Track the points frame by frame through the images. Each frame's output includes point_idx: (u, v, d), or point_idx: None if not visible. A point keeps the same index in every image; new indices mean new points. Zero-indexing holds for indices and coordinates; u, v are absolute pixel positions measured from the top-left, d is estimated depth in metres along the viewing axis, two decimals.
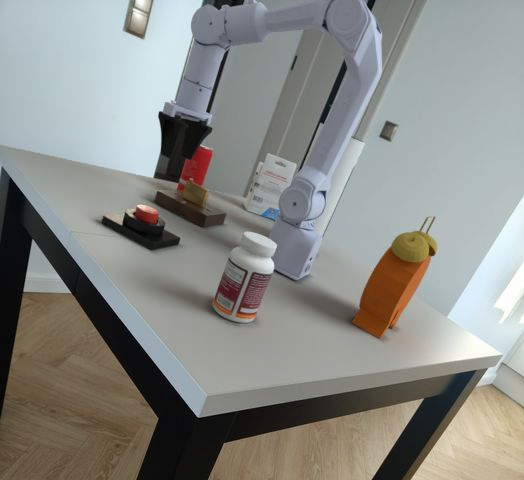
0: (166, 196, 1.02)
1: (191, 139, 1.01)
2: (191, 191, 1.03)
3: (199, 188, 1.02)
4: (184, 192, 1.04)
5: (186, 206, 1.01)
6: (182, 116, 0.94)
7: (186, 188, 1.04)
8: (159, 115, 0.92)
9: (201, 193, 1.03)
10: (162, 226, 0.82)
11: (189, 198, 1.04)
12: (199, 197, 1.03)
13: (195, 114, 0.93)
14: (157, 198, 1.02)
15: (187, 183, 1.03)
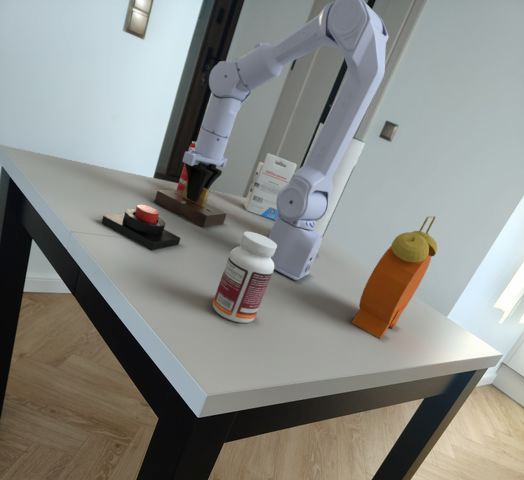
0: (166, 196, 1.02)
1: None
2: None
3: None
4: (184, 192, 1.04)
5: (186, 206, 1.01)
6: (200, 163, 0.99)
7: (186, 188, 1.04)
8: (186, 164, 0.99)
9: (201, 193, 1.03)
10: (162, 226, 0.82)
11: None
12: (199, 197, 1.03)
13: (213, 161, 0.98)
14: (157, 198, 1.02)
15: None
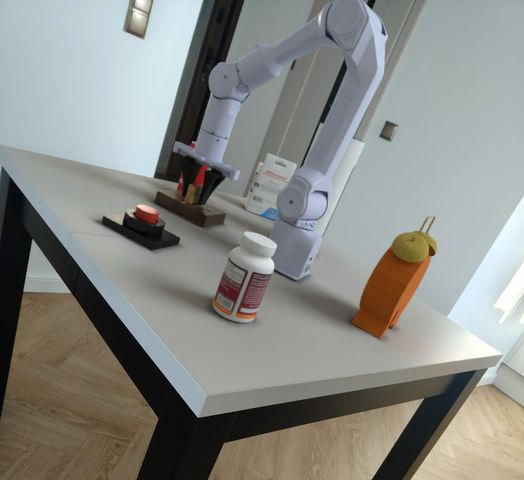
0: (166, 196, 1.02)
1: (191, 179, 1.03)
2: (197, 194, 1.03)
3: None
4: (192, 198, 1.02)
5: (186, 206, 1.01)
6: None
7: (194, 194, 1.02)
8: (215, 178, 0.99)
9: None
10: (162, 226, 0.82)
11: (194, 201, 1.04)
12: None
13: None
14: (157, 198, 1.02)
15: (195, 189, 1.01)
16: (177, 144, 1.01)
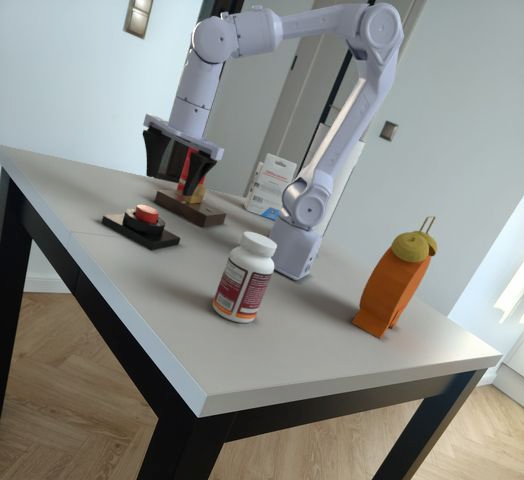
0: (166, 196, 1.02)
1: (157, 155, 0.86)
2: (197, 194, 1.03)
3: (202, 188, 1.04)
4: (192, 198, 1.02)
5: (186, 206, 1.01)
6: None
7: (194, 194, 1.02)
8: (203, 162, 0.81)
9: (203, 191, 1.05)
10: (162, 226, 0.82)
11: (194, 201, 1.04)
12: (201, 195, 1.05)
13: None
14: (157, 198, 1.02)
15: (195, 189, 1.01)
16: (148, 117, 0.83)
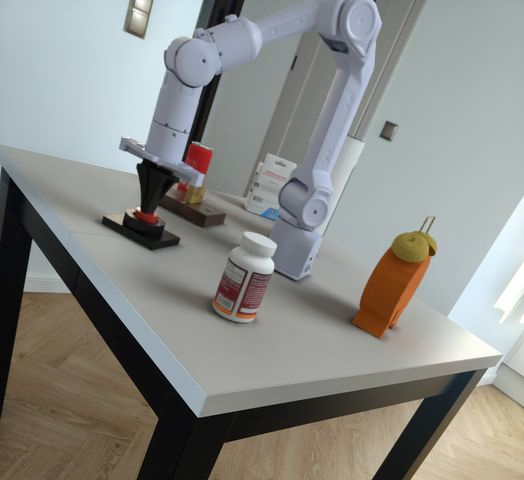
0: (166, 196, 1.02)
1: None
2: (197, 194, 1.03)
3: (202, 188, 1.04)
4: (192, 198, 1.02)
5: (186, 206, 1.01)
6: None
7: (194, 194, 1.02)
8: (163, 179, 0.77)
9: (203, 191, 1.05)
10: (162, 226, 0.82)
11: (194, 201, 1.04)
12: (201, 195, 1.05)
13: None
14: None
15: (195, 189, 1.01)
16: (124, 140, 0.78)
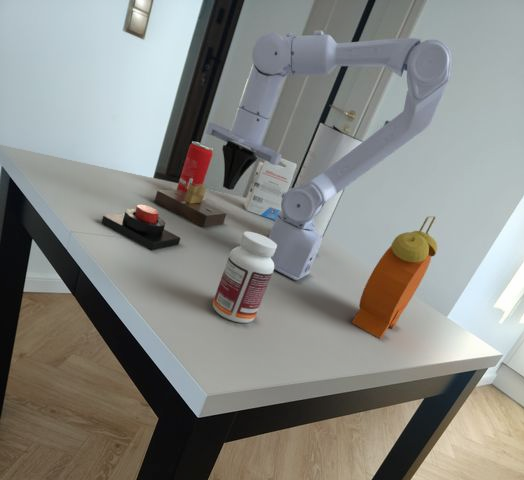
0: (166, 196, 1.02)
1: None
2: (197, 194, 1.03)
3: (202, 188, 1.04)
4: (192, 198, 1.02)
5: (186, 206, 1.01)
6: None
7: (194, 194, 1.02)
8: (246, 158, 0.89)
9: (203, 191, 1.05)
10: (162, 226, 0.82)
11: (194, 201, 1.04)
12: (201, 195, 1.05)
13: None
14: (157, 198, 1.02)
15: (195, 189, 1.01)
16: (211, 125, 0.91)
